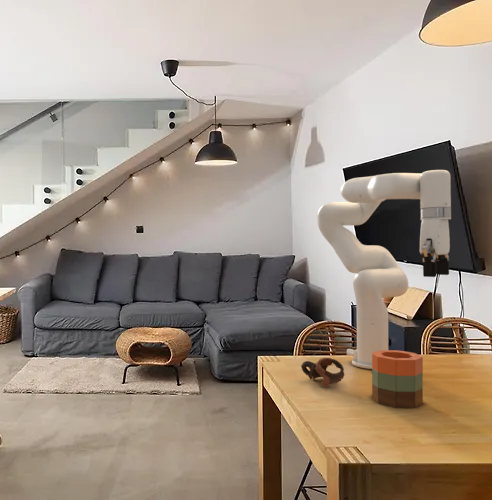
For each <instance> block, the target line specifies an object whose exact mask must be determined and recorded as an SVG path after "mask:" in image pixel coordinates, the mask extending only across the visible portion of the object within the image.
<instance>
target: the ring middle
mask: <svg viewBox="0 0 492 500" xmlns="http://www.w3.org/2000/svg"><path fill="white" fill-rule="evenodd" d="M423 374H424V373H421V374H418V375H416V376H395V375H389V374H384V373H379V372H377V371H376V370H374V369H373V368H372V369H371V375H372V376H371V384H372V383H373V384H374V385H375V386H377V387H378V388H381V389H386V390H391V391H395V392H415V391H418V390H420V389H422V388H423V387H424V385H423V384H424V383H423V376H424V375H423Z"/></svg>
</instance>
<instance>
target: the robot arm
mask: <svg viewBox="0 0 492 500" xmlns="http://www.w3.org/2000/svg"><path fill="white" fill-rule="evenodd" d="M451 182H452V181H451V173H450V171H449V170H446V169H431V170H426V171H422V173H420V172H419V173H418V172H417V173H415V172H392V173H383V174H376V175H370V176H362V177H361V176H360V177H353V178H350V179H348V180H346V181H345V182H344V183H343V184H342V186H341V187H340V194H341V197H342V198H343V199H344V200H345V201H332V202H327V203H324V204H323V205H321V207H319V209H318V211H317V215H316V216H317V217H316V222H317V226H318V229H319V231H320V233H321V235H322V236H323V238H324V239H325V240H326V241H327V243H328V244H330V246H331V247H332V248H333V250H334V252H335V253H336V255H337V257H338V259H339V260H340V262H341V263H342V265H343V266H344V267H345V269H346V270H347V271H348V272H349V273H351V274H355V275H354V277H353V279H352V280H353V282H352V287H353V291H354V297H355V306H356V349H351V348H347V349H346V356H349V357H353V359H351V364H352V365H353V366H354V367H358V368H361V369H367V370H372V353H373V352H377V351H380V350H389V311H388V307H387V305H386V303H385V302H384V300H383V299H384V298H386V299H387V298H398V297H401V296H403V295H404V294H406V293H407V291H408V289H409V280H408V279H409V278H408V277H407V275H406V273H405V271H404V270H403V268H402V267H401V266H400V265H399V263H398V262H397V260H396V259H395V258H394V256H393V255H392V254H391V252H390V251H389V250H388V249H387V248H386V247H384V246H381V245H377V244H376V245H374V244H372V245H367V244H363V243H362V242H361V241H359V239H358V238H357V236H356V235H355V234H354V232H352V231H351V230H349V229H348V228H347V226H360V225H363V224H365V223H366V222H367V221H368V220H369V219H370V217H371V216H372V215H373V213H374V212H375V211H376V209H377V208H378V207H379V205H381V203H382V202H385V201H386V200H420V201H419V209H420V221H421V223H420V232H419V233H420V234H419V253H420V255H421V257H422V275H423V276H422V277H425V278H436V277H437V275H438V276H448V275H449V274H450V256H449V255H450V249H451V243H450V242H451V240H450V239H451V237H450V225H449V220H452V190H451V189H452V188H451V187H452V185H451ZM345 226H346V227H345Z"/></svg>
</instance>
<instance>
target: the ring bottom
mask: <svg viewBox="0 0 492 500" xmlns="http://www.w3.org/2000/svg"><path fill="white" fill-rule="evenodd" d="M423 392H424V391H423V388H422V389H420V390H418V391H415V392H395V391H391V390H386V389H381V388H378V387H377V386H375V385H374V384H373V383H372V382H371V394H372V395H371V396H372V399H373V400H374V401H375V402H376V403H377V404H379V405H383V406H387V407H393V408H399V409H400V408H403V409H404V408H406V409H408V408H411V409H415V408H417V407H419V406H421V405H423V402H424V401H423V399H424V395H423V394H424V393H423Z"/></svg>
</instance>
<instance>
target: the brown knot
mask: <svg viewBox="0 0 492 500" xmlns="http://www.w3.org/2000/svg"><path fill="white" fill-rule="evenodd" d="M332 365H335V367H336V368H337V369H340V371H338V372H336V373H332V372H330V371H328V370H327V369H328V367H330V366H332ZM300 367H301V370H302V372H303V373H304V374H305V375H306V376H307V377H308V378H309V379H310V380H313V381H314V380H316V379H318V378H322V381H321V386H322V387H324V388H327V387H328V386H329V385H333V384H337V383H340V382H341V381H342V380H343V379H344V377H345V369H344V366H343V364H342V363H341V362H339V361H338V360H336V359H334V358H331V357H322V358H320V359H318V361H316V362H313V361H309V360H305V361H303V362H302V364H301V366H300Z"/></svg>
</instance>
